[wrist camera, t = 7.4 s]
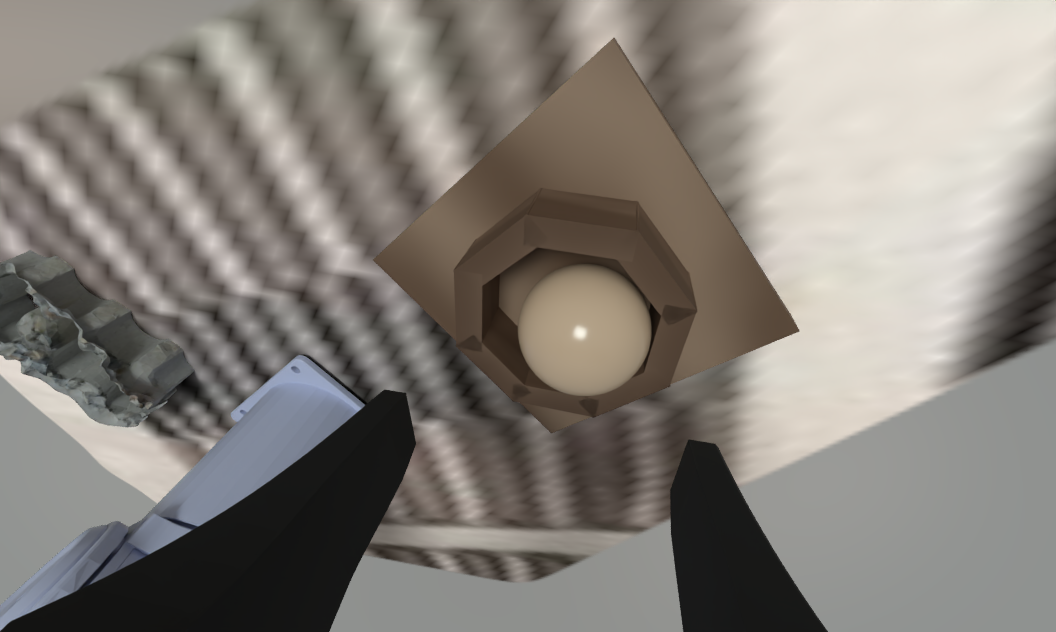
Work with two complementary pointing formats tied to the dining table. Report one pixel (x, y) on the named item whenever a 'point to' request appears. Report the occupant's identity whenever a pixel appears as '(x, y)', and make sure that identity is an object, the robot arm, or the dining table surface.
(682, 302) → the egg stand
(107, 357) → the egg carton
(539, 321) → the egg
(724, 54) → the dining table surface
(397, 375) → the dining table surface
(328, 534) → the robot arm
